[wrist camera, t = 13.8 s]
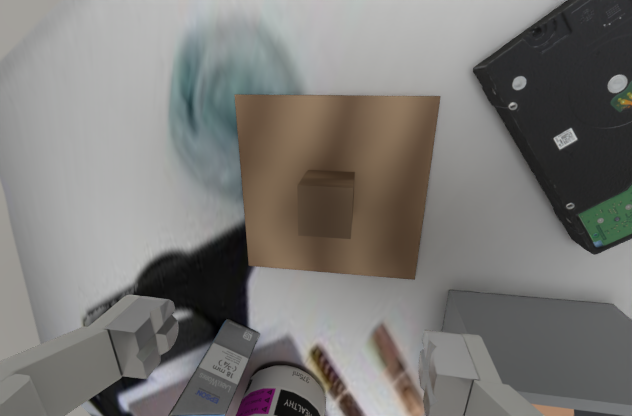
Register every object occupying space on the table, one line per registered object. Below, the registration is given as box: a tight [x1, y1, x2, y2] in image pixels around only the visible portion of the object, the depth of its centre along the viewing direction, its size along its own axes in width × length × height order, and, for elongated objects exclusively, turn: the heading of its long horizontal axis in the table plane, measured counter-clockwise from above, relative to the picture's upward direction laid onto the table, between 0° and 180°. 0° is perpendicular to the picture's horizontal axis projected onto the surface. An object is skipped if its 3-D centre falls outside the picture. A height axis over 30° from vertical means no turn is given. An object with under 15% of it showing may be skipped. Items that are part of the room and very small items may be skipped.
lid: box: [235, 95, 440, 280], centre depth 22 cm, size 14×14×5 cm
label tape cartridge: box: [168, 319, 259, 416], centre depth 26 cm, size 9×4×12 cm, turn 155°
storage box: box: [442, 290, 632, 416], centre depth 23 cm, size 12×12×9 cm
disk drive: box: [473, 0, 632, 255], centre depth 19 cm, size 10×3×15 cm
